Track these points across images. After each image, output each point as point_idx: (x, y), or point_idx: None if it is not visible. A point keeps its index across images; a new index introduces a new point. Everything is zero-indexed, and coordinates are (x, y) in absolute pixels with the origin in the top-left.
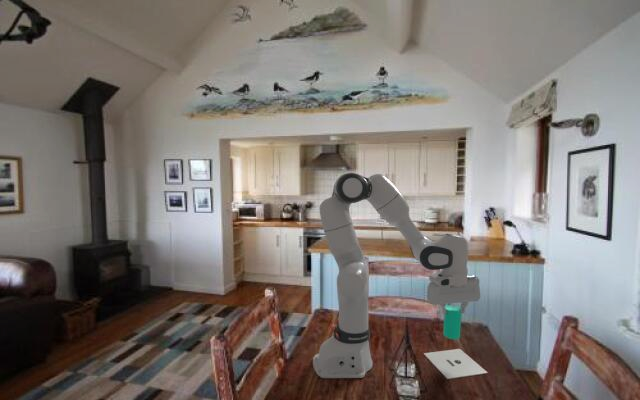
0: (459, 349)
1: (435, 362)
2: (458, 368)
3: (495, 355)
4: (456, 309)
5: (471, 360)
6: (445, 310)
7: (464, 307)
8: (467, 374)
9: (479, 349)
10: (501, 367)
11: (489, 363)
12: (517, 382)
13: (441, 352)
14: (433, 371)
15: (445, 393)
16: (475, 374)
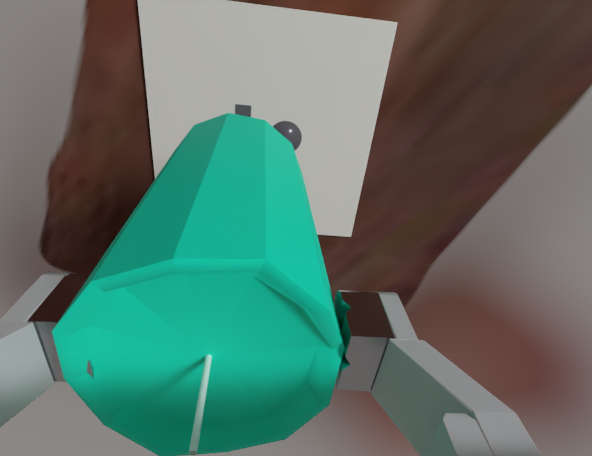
0: (388, 30)
1: (164, 106)
2: None
3: (514, 140)
4: (268, 361)
5: (360, 147)
6: (33, 385)
7: (392, 417)
8: None
9: (502, 63)
10: (439, 220)
11: (421, 184)
12: (402, 295)
13: (258, 21)
14: (123, 160)
15: None
16: None
